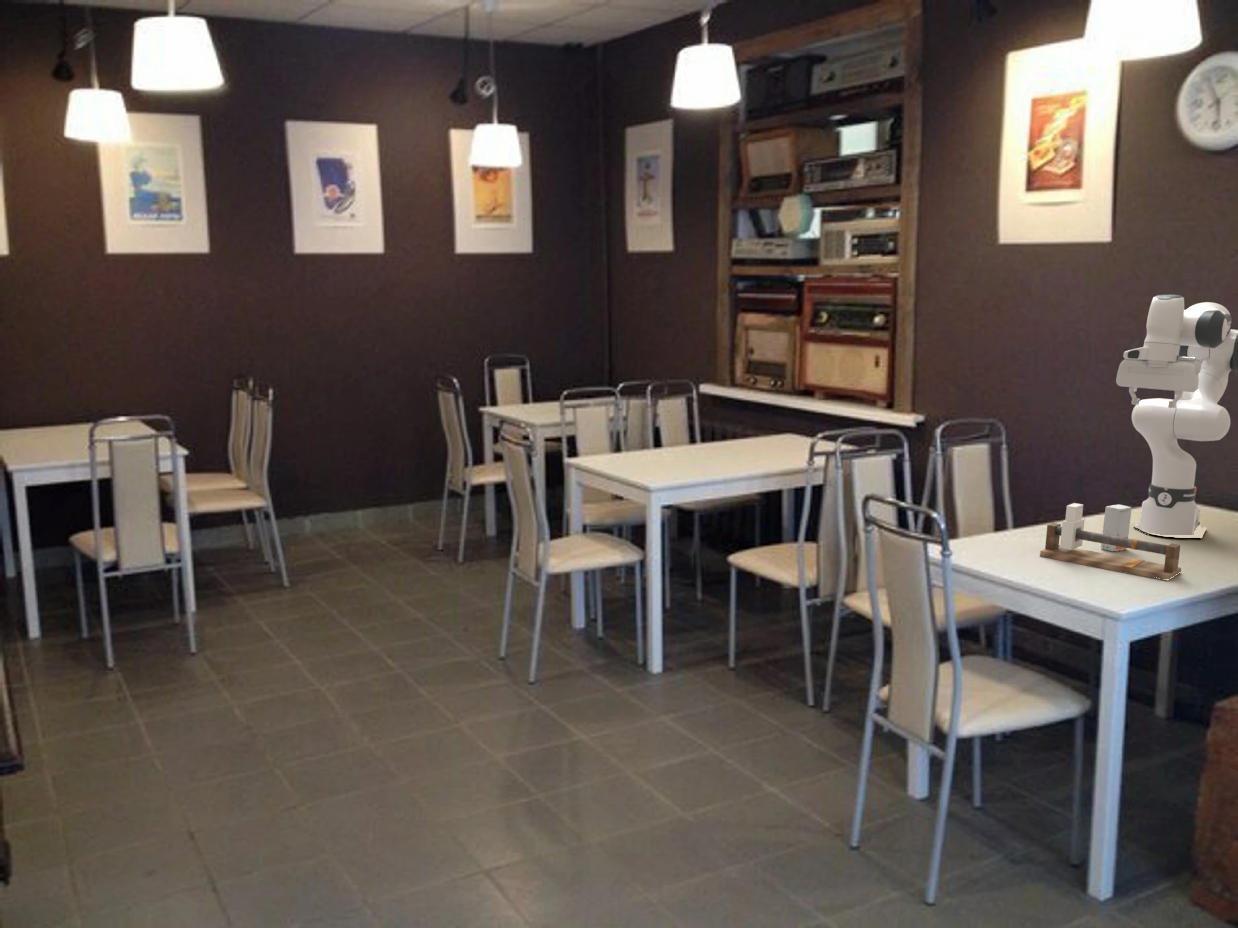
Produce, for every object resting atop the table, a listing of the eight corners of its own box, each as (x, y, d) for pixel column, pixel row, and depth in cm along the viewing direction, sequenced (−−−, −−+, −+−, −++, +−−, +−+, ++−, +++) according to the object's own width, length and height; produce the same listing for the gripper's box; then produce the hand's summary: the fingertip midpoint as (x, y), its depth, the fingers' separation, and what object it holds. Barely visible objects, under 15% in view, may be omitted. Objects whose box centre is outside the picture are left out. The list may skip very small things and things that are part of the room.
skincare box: (1114, 552, 304) (1119, 509, 302) (1100, 548, 307) (1104, 506, 305) (1127, 549, 307) (1132, 506, 305) (1113, 546, 311) (1118, 503, 308)
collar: (1059, 547, 295) (1063, 506, 293) (1070, 543, 301) (1074, 502, 299) (1071, 549, 293) (1075, 508, 291) (1082, 545, 299) (1086, 504, 297)
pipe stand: (1040, 556, 298) (1042, 526, 297) (1055, 549, 305) (1057, 521, 304) (1167, 581, 277) (1171, 549, 275) (1180, 573, 284) (1184, 542, 282)
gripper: (1205, 358, 297) (1198, 410, 298) (1125, 353, 311) (1119, 403, 312) (1198, 357, 292) (1191, 410, 294) (1117, 351, 306) (1111, 402, 307)
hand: (1153, 406), depth 303 cm, fingers open, 8 cm apart
